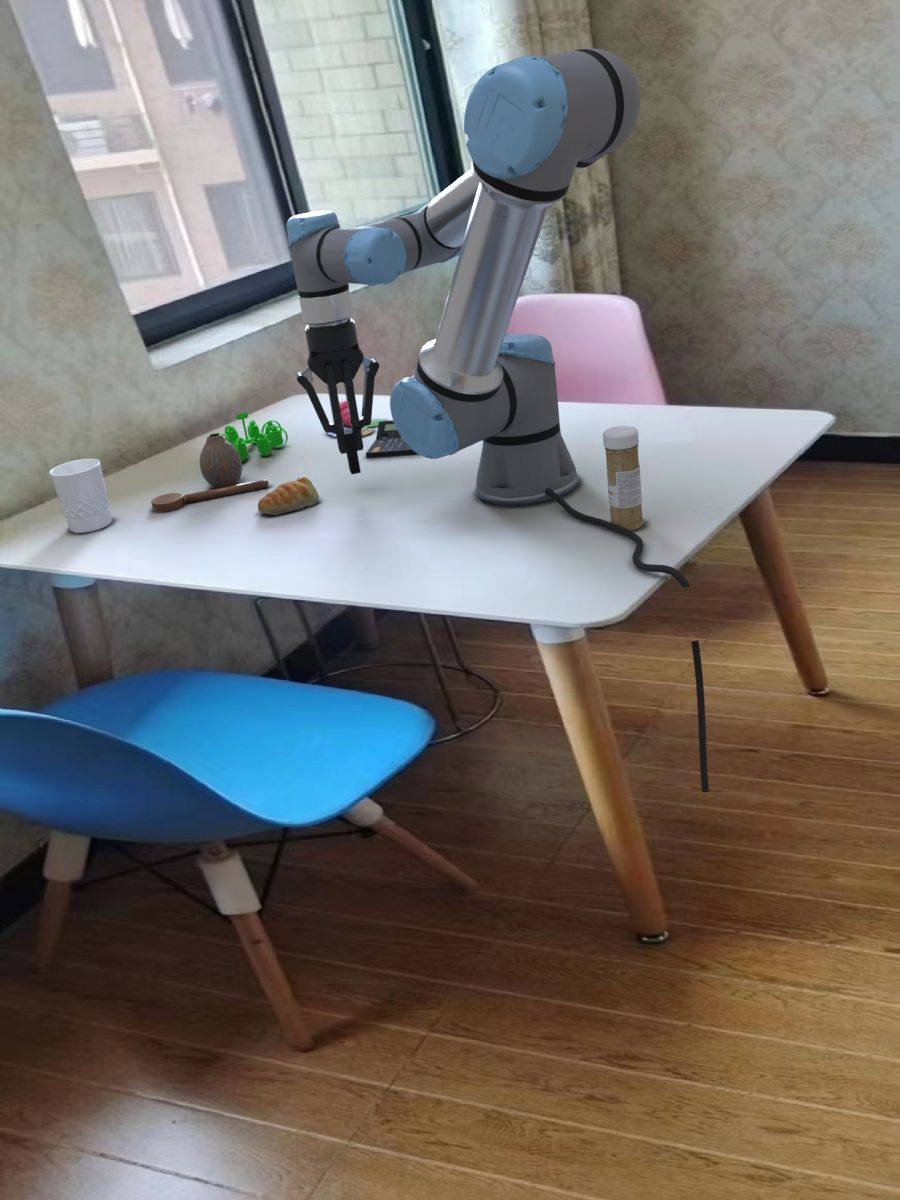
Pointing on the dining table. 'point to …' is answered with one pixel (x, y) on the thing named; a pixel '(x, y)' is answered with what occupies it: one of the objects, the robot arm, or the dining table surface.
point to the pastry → (289, 497)
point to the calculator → (388, 442)
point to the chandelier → (255, 437)
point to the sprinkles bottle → (623, 476)
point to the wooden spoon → (202, 495)
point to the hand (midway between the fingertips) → (355, 470)
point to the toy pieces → (346, 421)
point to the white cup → (82, 494)
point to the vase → (220, 462)
